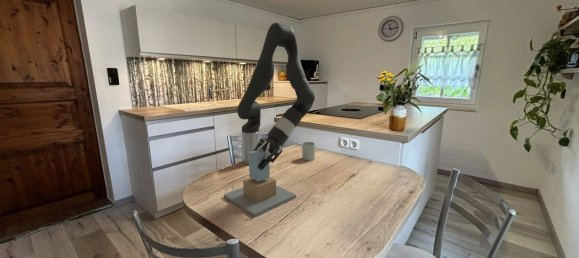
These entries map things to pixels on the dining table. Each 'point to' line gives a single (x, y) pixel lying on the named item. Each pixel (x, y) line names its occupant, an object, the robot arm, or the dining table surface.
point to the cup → (308, 151)
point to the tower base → (260, 205)
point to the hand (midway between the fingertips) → (255, 165)
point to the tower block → (254, 161)
